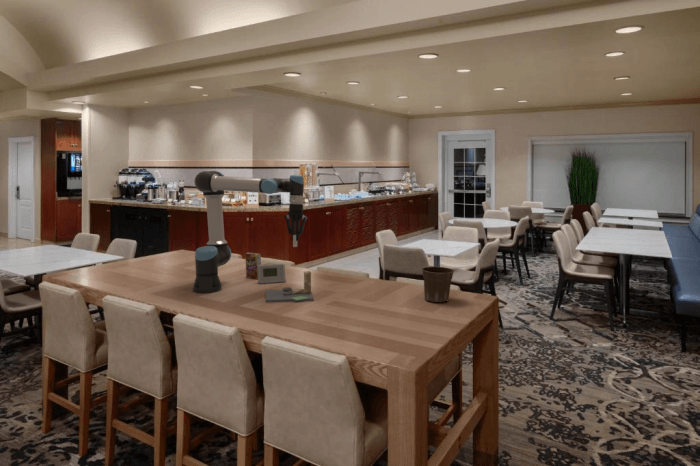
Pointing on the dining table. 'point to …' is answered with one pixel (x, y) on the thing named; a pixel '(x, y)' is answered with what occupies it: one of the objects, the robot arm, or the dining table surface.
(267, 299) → the dial board
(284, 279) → the digital clock
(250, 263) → the candy box
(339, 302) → the dining table surface
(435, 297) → the plant pot
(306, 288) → the lever
